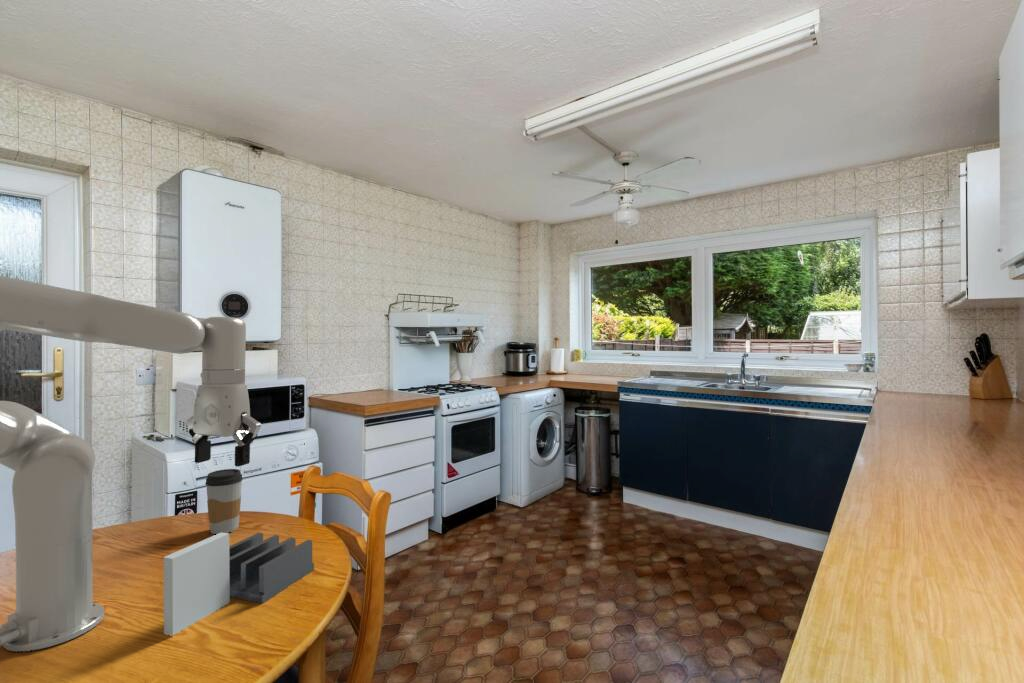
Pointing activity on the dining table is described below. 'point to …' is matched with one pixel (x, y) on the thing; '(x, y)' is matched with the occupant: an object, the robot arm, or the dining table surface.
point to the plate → (196, 582)
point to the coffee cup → (224, 500)
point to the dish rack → (266, 566)
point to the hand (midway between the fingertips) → (222, 463)
